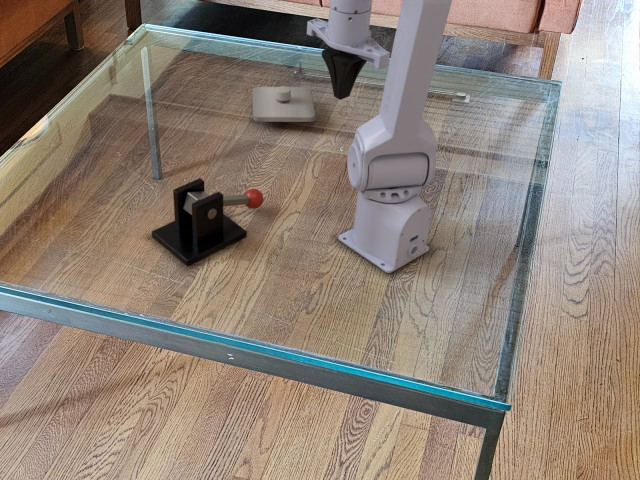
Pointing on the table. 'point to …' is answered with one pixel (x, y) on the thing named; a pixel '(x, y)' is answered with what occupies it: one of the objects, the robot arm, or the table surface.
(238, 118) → the table surface
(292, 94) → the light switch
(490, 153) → the table surface
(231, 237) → the bracket
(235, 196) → the lever
